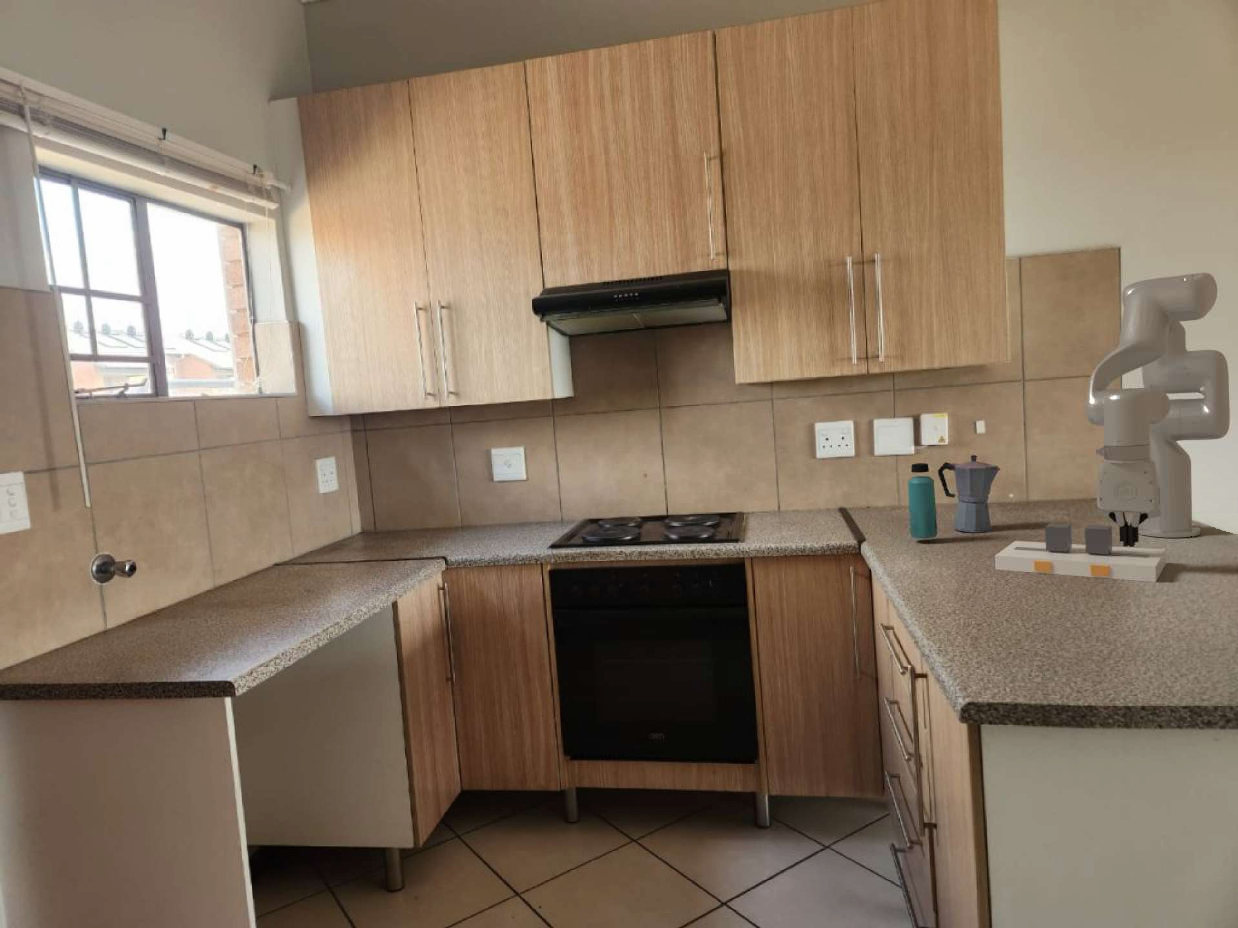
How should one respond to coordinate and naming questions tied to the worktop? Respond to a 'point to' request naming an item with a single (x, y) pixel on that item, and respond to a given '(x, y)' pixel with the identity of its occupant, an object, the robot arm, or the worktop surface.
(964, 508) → the moka pot
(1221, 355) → the robot arm
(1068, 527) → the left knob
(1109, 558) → the switch panel
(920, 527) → the beverage bottle
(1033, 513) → the worktop surface
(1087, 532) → the right knob
